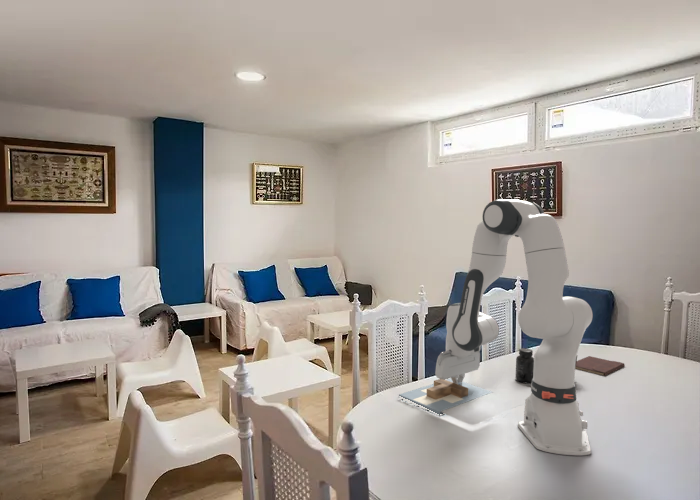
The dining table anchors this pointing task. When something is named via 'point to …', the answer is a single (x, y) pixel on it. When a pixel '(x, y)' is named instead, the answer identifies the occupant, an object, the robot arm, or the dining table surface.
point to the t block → (446, 389)
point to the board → (445, 402)
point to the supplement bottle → (524, 366)
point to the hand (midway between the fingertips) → (457, 386)
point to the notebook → (598, 365)
